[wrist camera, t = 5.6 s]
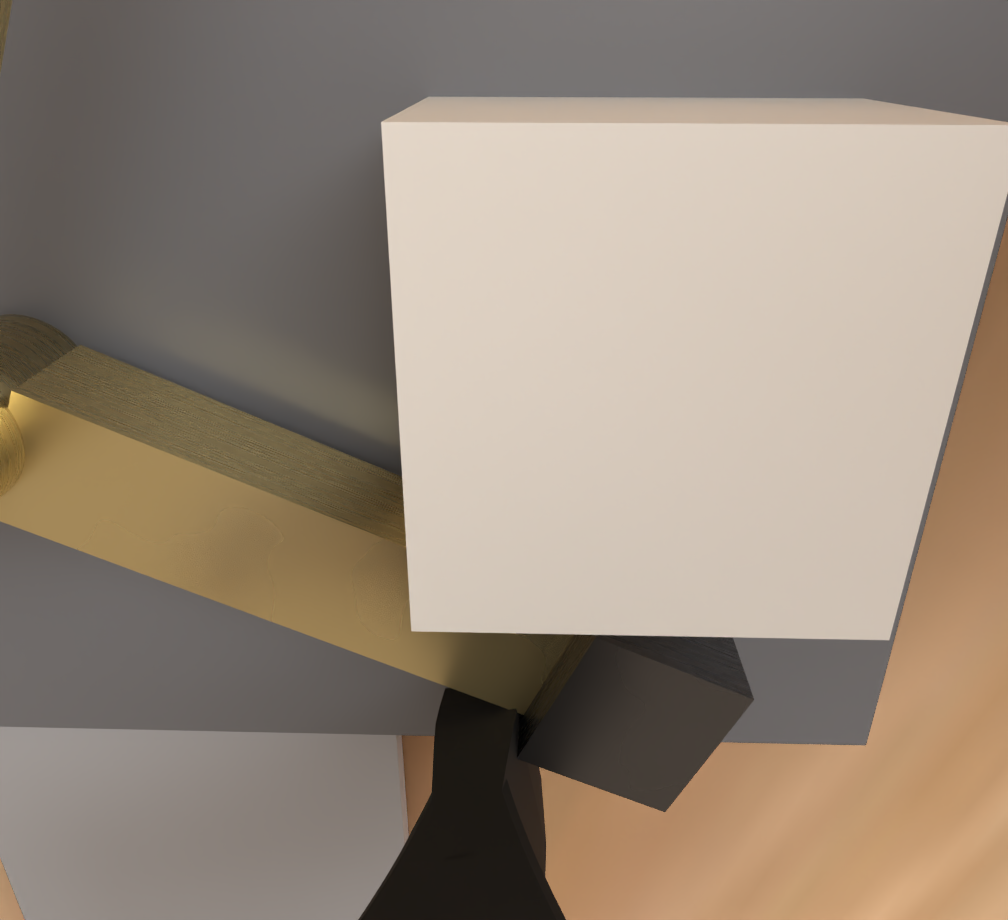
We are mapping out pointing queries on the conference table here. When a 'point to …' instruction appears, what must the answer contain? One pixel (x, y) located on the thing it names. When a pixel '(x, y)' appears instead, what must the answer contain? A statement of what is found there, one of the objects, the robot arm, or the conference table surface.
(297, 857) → the felt pad
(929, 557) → the conference table surface
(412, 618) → the cream foam cube
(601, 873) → the conference table surface
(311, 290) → the base plate
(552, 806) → the conference table surface
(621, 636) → the l-shaped bracket
